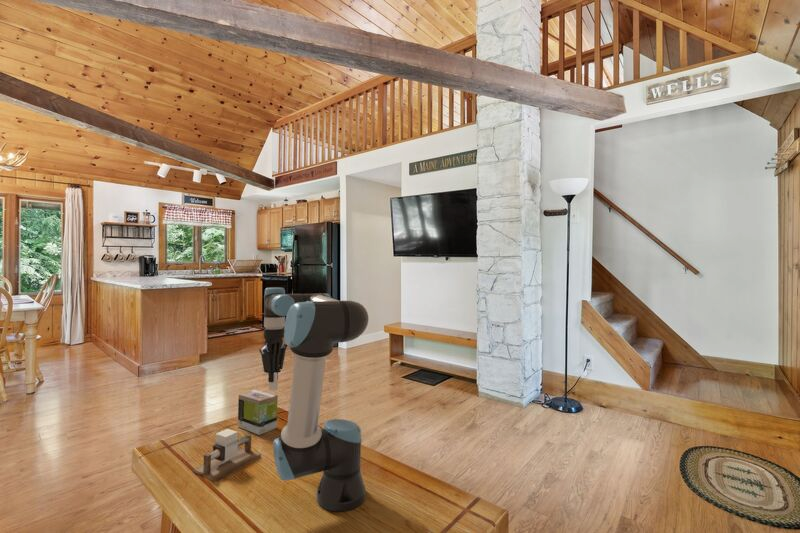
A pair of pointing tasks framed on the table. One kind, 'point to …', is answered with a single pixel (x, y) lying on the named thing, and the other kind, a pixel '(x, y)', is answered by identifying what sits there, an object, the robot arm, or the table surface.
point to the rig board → (227, 463)
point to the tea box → (257, 411)
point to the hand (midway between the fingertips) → (273, 389)
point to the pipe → (240, 442)
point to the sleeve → (228, 442)
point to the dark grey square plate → (221, 452)
